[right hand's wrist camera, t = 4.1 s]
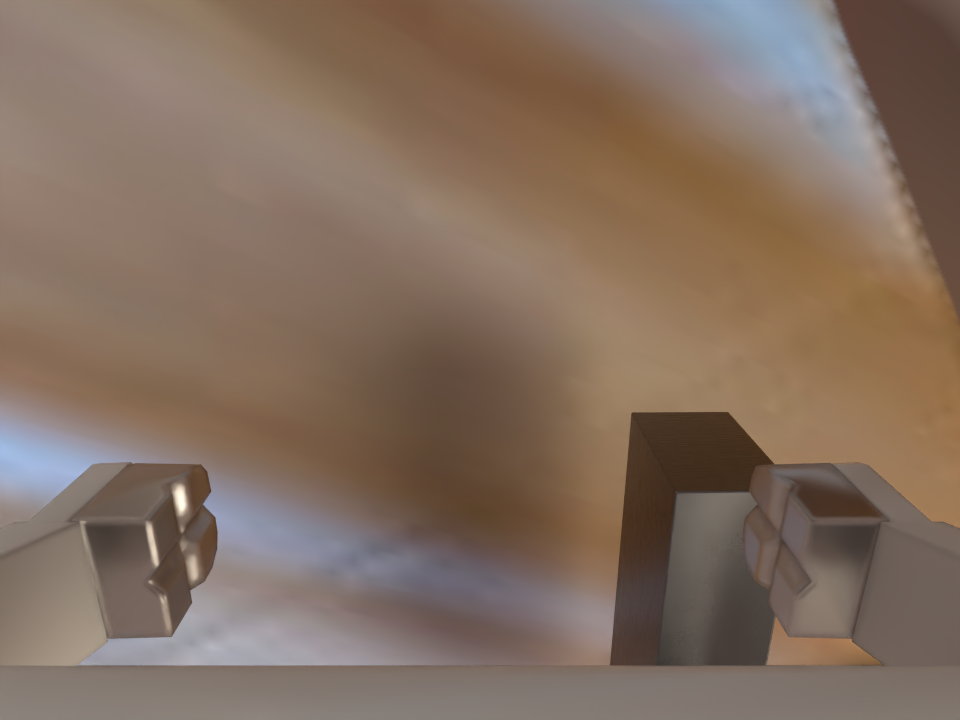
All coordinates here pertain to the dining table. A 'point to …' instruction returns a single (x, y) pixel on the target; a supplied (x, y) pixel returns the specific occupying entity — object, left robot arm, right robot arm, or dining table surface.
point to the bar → (688, 546)
